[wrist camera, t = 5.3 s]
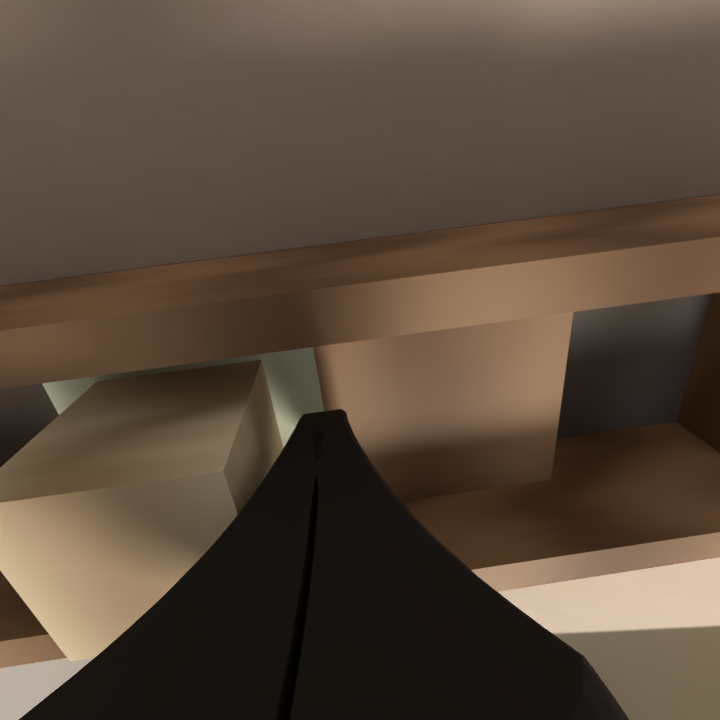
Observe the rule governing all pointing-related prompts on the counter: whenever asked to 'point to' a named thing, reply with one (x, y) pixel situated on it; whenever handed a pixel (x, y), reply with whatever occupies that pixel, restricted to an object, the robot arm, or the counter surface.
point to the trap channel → (439, 377)
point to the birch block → (131, 495)
